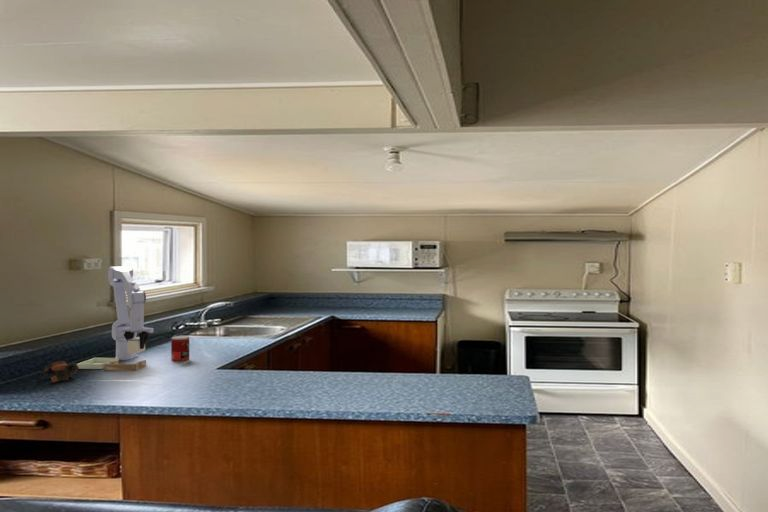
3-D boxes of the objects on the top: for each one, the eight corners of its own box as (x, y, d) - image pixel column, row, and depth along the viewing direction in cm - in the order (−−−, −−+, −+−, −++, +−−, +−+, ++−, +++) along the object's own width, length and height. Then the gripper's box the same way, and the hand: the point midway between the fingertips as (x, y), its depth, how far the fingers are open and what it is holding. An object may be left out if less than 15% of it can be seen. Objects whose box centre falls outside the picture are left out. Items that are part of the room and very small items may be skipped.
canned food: (183, 362, 234) (183, 338, 234) (167, 362, 235) (167, 338, 235) (192, 359, 242) (192, 336, 242) (177, 358, 243) (177, 335, 243)
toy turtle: (42, 385, 195) (39, 365, 198) (50, 390, 204) (46, 371, 206) (78, 374, 200) (73, 354, 203) (84, 380, 208) (80, 361, 211)
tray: (94, 363, 232) (94, 357, 232) (118, 363, 232) (118, 358, 232) (76, 369, 219) (76, 363, 219) (102, 370, 219) (102, 364, 219)
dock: (116, 366, 226) (116, 359, 226) (146, 366, 225) (146, 360, 225) (104, 371, 216) (104, 364, 216) (134, 371, 216) (134, 364, 216)
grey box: (136, 349, 234) (136, 336, 234) (146, 349, 234) (146, 336, 234) (127, 353, 226) (127, 339, 226) (137, 353, 226) (137, 339, 226)
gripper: (115, 319, 226) (115, 350, 226) (148, 319, 226) (148, 350, 226) (124, 317, 233) (124, 347, 233) (155, 317, 233) (155, 347, 233)
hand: (136, 348), depth 230 cm, fingers closed on grey box, 4 cm apart
